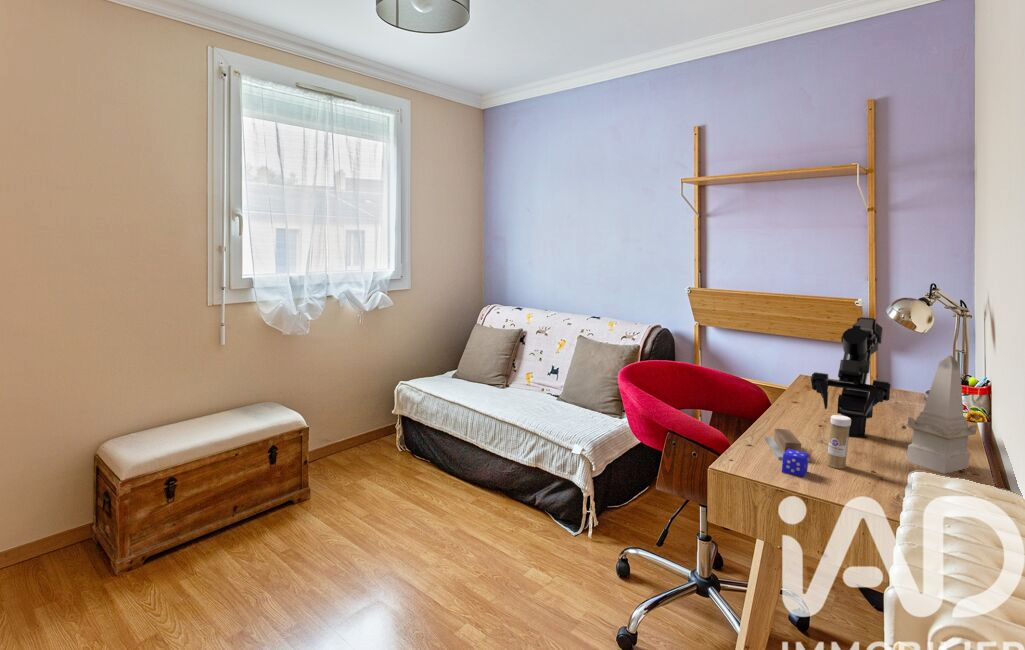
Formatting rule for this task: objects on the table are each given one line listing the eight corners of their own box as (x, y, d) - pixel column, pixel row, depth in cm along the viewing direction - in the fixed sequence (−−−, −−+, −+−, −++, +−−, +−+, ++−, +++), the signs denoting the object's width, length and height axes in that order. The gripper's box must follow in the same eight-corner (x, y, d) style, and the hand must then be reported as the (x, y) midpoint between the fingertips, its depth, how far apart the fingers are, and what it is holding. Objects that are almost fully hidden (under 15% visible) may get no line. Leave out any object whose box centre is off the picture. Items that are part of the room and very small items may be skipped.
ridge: (793, 442, 163) (795, 428, 162) (810, 462, 147) (811, 447, 147) (764, 439, 164) (765, 425, 164) (778, 459, 149) (779, 444, 148)
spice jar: (824, 466, 145) (829, 417, 143) (828, 461, 148) (832, 413, 146) (844, 470, 142) (849, 420, 140) (847, 465, 145) (852, 416, 143)
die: (786, 466, 144) (787, 448, 144) (807, 471, 141) (809, 453, 141) (781, 472, 140) (783, 453, 140) (802, 477, 137) (804, 458, 137)
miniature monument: (970, 469, 144) (986, 357, 140) (944, 474, 140) (959, 359, 136) (928, 455, 154) (941, 350, 150) (903, 459, 150) (916, 352, 146)
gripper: (815, 344, 157) (804, 389, 149) (894, 352, 145) (886, 401, 138) (817, 367, 164) (807, 411, 157) (892, 376, 153) (885, 424, 145)
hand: (844, 411), depth 149 cm, fingers open, 9 cm apart
